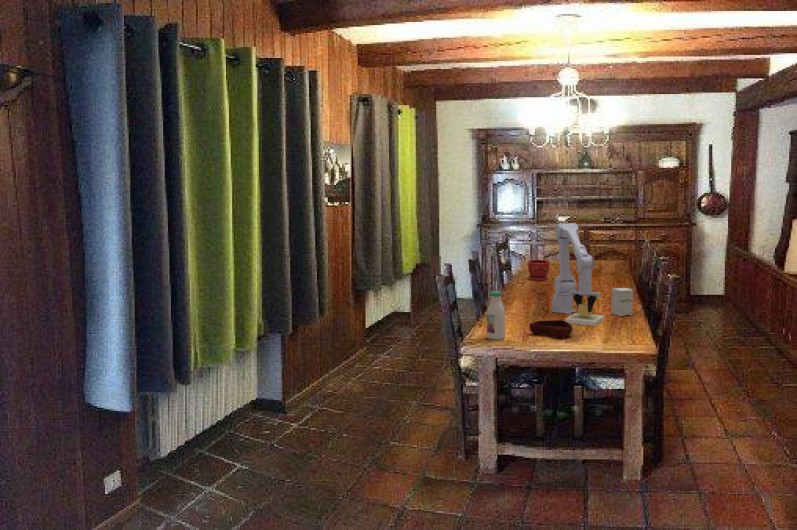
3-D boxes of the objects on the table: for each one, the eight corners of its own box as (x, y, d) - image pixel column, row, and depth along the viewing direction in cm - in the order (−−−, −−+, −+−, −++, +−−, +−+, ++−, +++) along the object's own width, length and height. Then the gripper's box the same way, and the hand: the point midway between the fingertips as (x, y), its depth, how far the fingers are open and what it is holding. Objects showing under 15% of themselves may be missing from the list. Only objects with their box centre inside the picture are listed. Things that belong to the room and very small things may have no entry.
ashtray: (582, 333, 312) (582, 322, 311) (563, 341, 300) (563, 329, 299) (545, 328, 324) (545, 317, 323) (526, 335, 312) (526, 323, 311)
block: (578, 315, 333) (578, 304, 333) (583, 313, 337) (583, 302, 336) (587, 316, 330) (587, 305, 330) (592, 315, 334) (592, 304, 333)
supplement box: (619, 316, 342) (620, 290, 340) (610, 313, 349) (611, 288, 347) (633, 315, 344) (633, 289, 342) (624, 312, 351) (624, 287, 349)
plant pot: (526, 281, 449) (526, 262, 448) (529, 277, 462) (529, 259, 460) (548, 281, 446) (548, 262, 444) (550, 278, 458) (550, 259, 456)
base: (564, 323, 332) (564, 318, 331) (574, 317, 343) (574, 313, 343) (595, 326, 324) (595, 321, 324) (604, 320, 336) (604, 315, 336)
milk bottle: (503, 335, 311) (503, 290, 308) (506, 339, 304) (506, 293, 301) (485, 336, 311) (485, 290, 308) (488, 340, 303) (488, 293, 301)
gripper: (566, 282, 333) (566, 310, 335) (595, 285, 323) (595, 314, 325) (574, 280, 338) (573, 308, 340) (602, 282, 329) (602, 312, 330)
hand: (584, 311), depth 333 cm, fingers closed on block, 4 cm apart
